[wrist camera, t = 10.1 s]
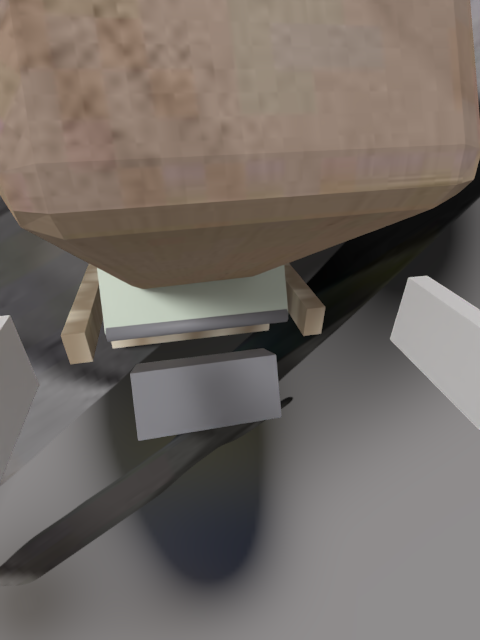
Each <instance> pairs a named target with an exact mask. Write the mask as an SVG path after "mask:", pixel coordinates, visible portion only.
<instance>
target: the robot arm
mask: <svg viewBox="0 0 480 640" xmlns="http://www.w3.org/2000/svg"><path fill="white" fill-rule="evenodd" d="M390 340H391V341H392V342H393V343H394V344H395V345H396V346H397V347H398V348H399V349H400V350H401V351H402V352H403V353H404V354H405V355H406V356H407V357H408V358H409V359H410V360H411V361H412V362H413V363H414V364H415V365H416V366H417V367H418V368H419V369H420V370H421V371H422V372H423V373H424V374H425V375H426V376H427V377H428V379H429V380H430V381H431V382H432V383H433V384H434V385H435V386H436V387H437V388H438V389H439V390H440V391H441V392H442V393H443V394H444V395H445V396H446V397H447V398H448V399H449V400H450V401H451V402H452V403H453V404H454V405H455V406H456V407H457V408H458V409H459V410H460V411H461V412H462V413H463V414H464V415H465V416H466V417H467V418H468V419H469V420H470V421H471V422H472V423H473V424H474V425H475V426H476V427H477V428H478V429H479V430H480V310H479V309H478V308H476V307H475V306H473V305H472V304H470V303H468V302H467V301H465V300H464V299H462V298H461V297H459V296H458V295H456V294H455V293H453V292H451V291H450V290H448V289H447V288H445V287H444V286H442V285H440V284H439V283H437V282H436V281H434V280H433V279H431V278H430V277H428V276H420V277H409V278H408V281H407V284H406V287H405V291H404V294H403V297H402V301H401V304H400V308H399V311H398V314H397V317H396V320H395V324H394V327H393V330H392V334H391V337H390ZM38 387H39V383H38V380H37V378H36V376H35V373H34V371H33V369H32V366H31V364H30V361H29V359H28V357H27V354H26V352H25V350H24V347H23V345H22V342H21V340H20V338H19V335H18V333H17V331H16V328H15V326H14V323H13V321H12V319H11V316H10V315H7V316H0V481H1V479H2V476H3V474H4V471H5V469H6V466H7V464H8V461H9V459H10V456H11V454H12V451H13V449H14V447H15V444H16V442H17V439H18V437H19V434H20V432H21V429H22V427H23V424H24V422H25V419H26V417H27V414H28V412H29V409H30V407H31V404H32V402H33V399H34V397H35V394H36V392H37V389H38Z"/></svg>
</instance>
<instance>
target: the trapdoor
mask: <svg viewBox="0 0 480 640" xmlns="http://www.w3.org/2000/svg"><path fill="white" fill-rule="evenodd" d="M97 272H98V280H99V289H100V297H101V305H102V313H103V321H104V329H105V334H106V337H107V341H108V342H111V341H119V340H128V339H137V338H146V337H155V336H164V335H173V334H182V333H191V332H199V331H208V330H217V329H226V328H235V327H244V326H253V325H262V324H270V323H279V322H287V321H288V303H287V292H286V281H285V269H284V265H282V266H279V267H277V268H274V269H271V270H269V271H266V272H264V273H261V274H258V275H256V276H253V277H244V278H236V279H227V280H218V281H210V282H201V283H192V284H184V285H175V286H166V287H158V288H149V289H141V288H137V287H133V286H131V285H129V284H127V283H125V282H123V281H122V280H120V279H118V278H116V277H114V276H112V275H110V274H108V273H106V272H105V271H103V270H101V269H99V268H97ZM130 376H131V384H132V393H133V401H134V409H135V418H136V426H137V434H138V441H140V440H146V439H151V438H157V437H164V436H170V435H176V434H182V433H188V432H194V431H201V430H207V429H213V428H219V427H225V426H231V425H237V424H243V423H249V422H255V421H261V420H267V419H273V418H279V417H282V416H281V404H280V393H279V382H278V371H277V360H276V355H275V354H274V353H272V352H270V351H268V350H266V349H264V348H261V349H253V350H245V351H237V352H229V353H221V354H213V355H206V356H198V357H190V358H182V359H174V360H166V361H158V362H150V363H142V364H136V366H135V367H134V369H133V370H132V372H131V373H130Z"/></svg>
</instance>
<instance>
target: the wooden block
mask: <svg viewBox="0 0 480 640" xmlns="http://www.w3.org/2000/svg"><path fill="white" fill-rule="evenodd" d="M479 158H480V118H479V106H478V93H477V81H476V68H475V56H474V43H473V31H472V18H471V6H470V0H0V195H1V197H2V198H3V200H4V202H5V203H6V205H7V206H8V208H9V209H10V211H11V213H12V214H13V216H14V217H15V219H16V220H17V222H18V224H19V225H20V227H21V228H23V229H25V230H27V231H29V232H31V233H33V234H35V235H37V236H38V237H40V238H42V239H44V240H46V241H48V242H50V243H52V244H54V245H55V246H57V247H59V248H61V249H63V250H65V251H67V252H69V253H71V254H72V255H74V256H76V257H78V258H80V259H82V260H84V261H86V262H88V263H89V264H91V265H93V266H95V267H97V268H99V269H101V270H103V271H105V272H106V273H108V274H110V275H112V276H114V277H116V278H118V279H120V280H122V281H123V282H125V283H127V284H129V285H131V286H133V287H137V288H141V289H149V288H158V287H166V286H175V285H184V284H192V283H201V282H210V281H218V280H227V279H236V278H244V277H253V276H256V275H258V274H261V273H264V272H266V271H269V270H271V269H274V268H277V267H279V266H282V265H285V264H287V263H290V262H293V261H295V260H298V259H300V258H303V257H306V256H308V255H311V254H314V253H316V252H319V251H322V250H324V249H327V248H329V247H332V246H335V245H337V244H340V243H343V242H345V241H348V240H351V239H353V238H356V237H358V236H361V235H364V234H366V233H369V232H372V231H374V230H377V229H380V228H382V227H385V226H387V225H390V224H393V223H395V222H398V221H401V220H403V219H406V218H409V217H411V216H414V215H416V214H419V213H422V212H424V211H427V210H430V209H432V208H434V207H436V206H438V205H439V204H441V203H443V202H444V201H446V200H448V199H449V198H451V197H453V196H454V195H456V194H458V193H459V192H460V191H461V190H462V189H463V188H465V187H466V186H467V185H468V184H469V183H470V182H471V181H472V180H474V177H475V173H476V170H477V166H478V162H479Z"/></svg>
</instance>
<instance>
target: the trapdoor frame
mask: <svg viewBox="0 0 480 640" xmlns="http://www.w3.org/2000/svg"><path fill="white" fill-rule="evenodd" d="M284 269H285V281H286V292H287V303H288V312H289V314H290V315H291V317H292V319H293V320H294V322H295V323H296V325H297V326H298V328H299V330H300V331H301V333H302V334H303V336H307V335H315V334H321V331H322V325H323V319H324V313H325V306H324V305H323V304H322V302H321V301H320V300H319V299H318V298H317V296H316V295H315V294H314V293H313V292H312V290H311V289H310V288H309V287H308V285H307V284H306V283H305V282H304V281H303V279H302V278H301V277H300V276H299V275H298V273H297V272H296V271H295V270H294V269H293V267H292V266H291V265H290V264H289V263H287V264H285V265H284ZM102 320H103V313H102V305H101V297H100V289H99V280H98V272H97V267H95V266H93V265H91V264H89V265H88V267H87V270H86V272H85V275H84V278H83V280H82V283H81V285H80V288H79V290H78V293H77V295H76V298H75V300H74V303H73V306H72V308H71V311H70V313H69V316H68V318H67V321H66V323H65V326H64V328H63V331H62V333H61V338H62V341H63V344H64V346H65V349H66V352H67V355H68V358H69V361H70V364H76V363H84V362H92V361H93V358H94V354H95V350H96V345H97V341H98V337H99V333H100V328H101V324H102ZM267 330H269V324H262V325H253V326H244V327H235V328H226V329H217V330H208V331H199V332H191V333H182V334H173V335H164V336H155V337H146V338H137V339H128V340H119V341H111V342H112V347H113V348H121V347H129V346H138V345H147V344H155V343H164V342H171V341H181V340H190V339H198V338H206V337H215V336H223V335H233V334H241V333H249V332H259V331H267Z"/></svg>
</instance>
